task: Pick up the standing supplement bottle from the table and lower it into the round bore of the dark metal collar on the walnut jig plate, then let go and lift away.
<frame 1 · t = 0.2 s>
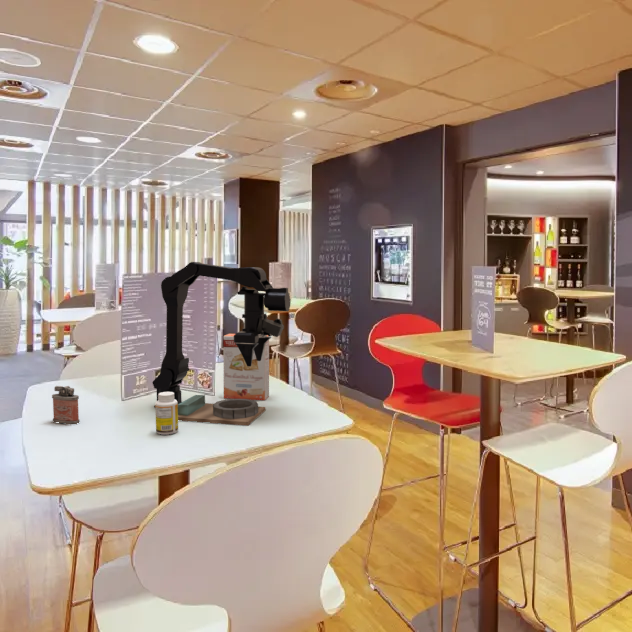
hand: (254, 363, 153), 14 cm above the table, tool pointing down, fingers open, 9 cm apart
supplement bottle: (167, 433, 135), on the table
cracker box: (246, 398, 171), on the table
lighter: (66, 423, 143), on the table
jig: (219, 414, 151), on the table
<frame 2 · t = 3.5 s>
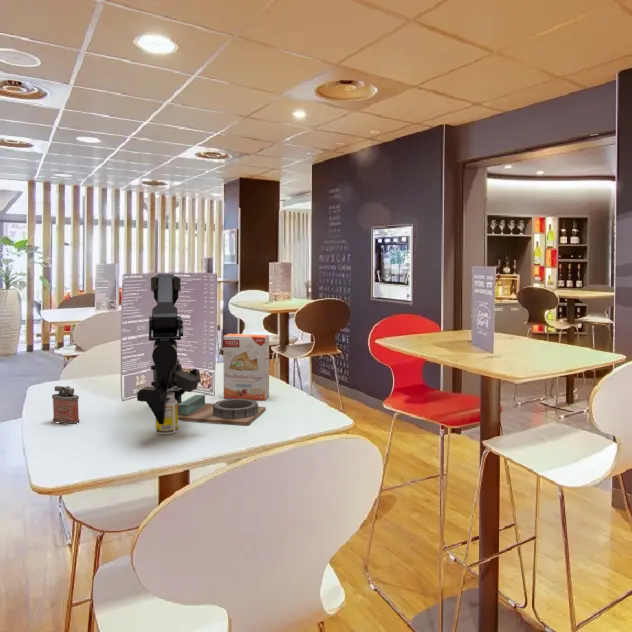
hand: (166, 420, 134), 3 cm above the table, tool pointing down, fingers closed on supplement bottle, 6 cm apart
supplement bottle: (167, 432, 135), on the table, touching gripper
everything else where it was.
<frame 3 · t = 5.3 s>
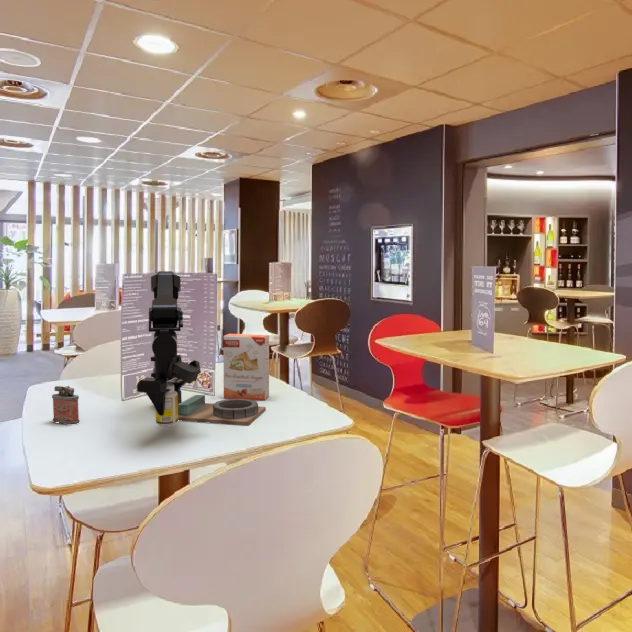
hand: (166, 412, 134), 5 cm above the table, tool pointing down, fingers closed on supplement bottle, 6 cm apart
supplement bottle: (167, 424, 135), point 2 cm above the table, touching gripper
everything else where it was.
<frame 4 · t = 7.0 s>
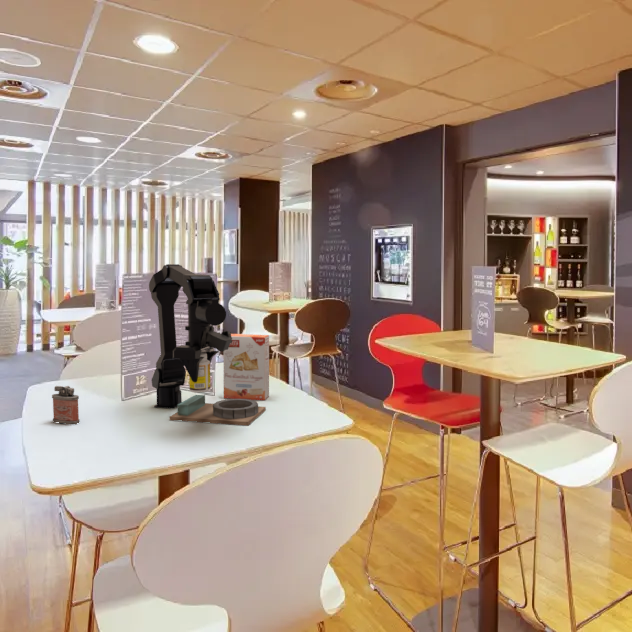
hand: (199, 379, 141), 12 cm above the table, tool pointing down, fingers closed on supplement bottle, 6 cm apart
supplement bottle: (199, 391, 141), point 9 cm above the table, touching gripper
everything else where it was.
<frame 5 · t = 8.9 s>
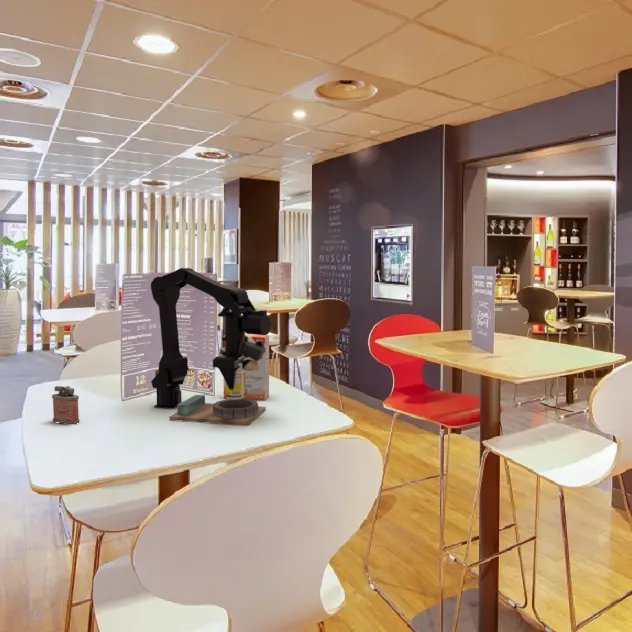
hand: (235, 387, 149), 8 cm above the table, tool pointing down, fingers closed on supplement bottle, 6 cm apart
supplement bottle: (235, 398, 149), point 5 cm above the table, touching gripper
everything else where it was.
when the fingers open (5 cm above the table, at t = 10.5 s): supplement bottle stays where it is, resting on jig.
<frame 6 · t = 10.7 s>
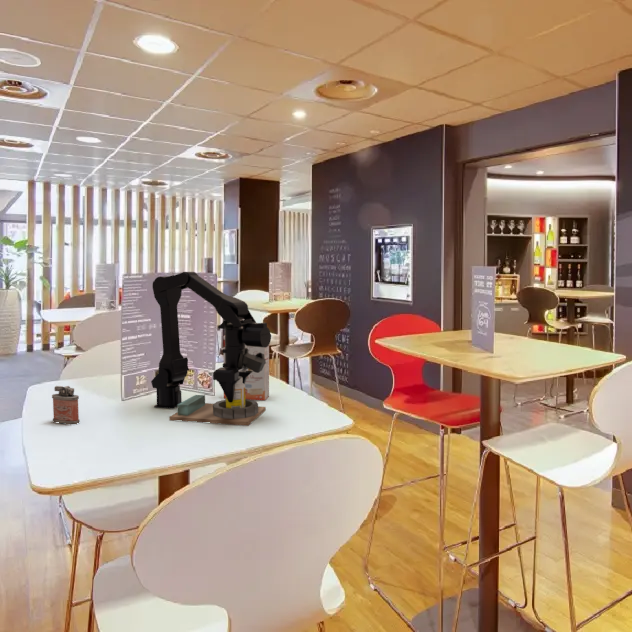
hand: (235, 399, 149), 5 cm above the table, tool pointing down, fingers open, 7 cm apart
supplement bottle: (235, 413, 150), point 1 cm above the table, touching jig
everything else where it was.
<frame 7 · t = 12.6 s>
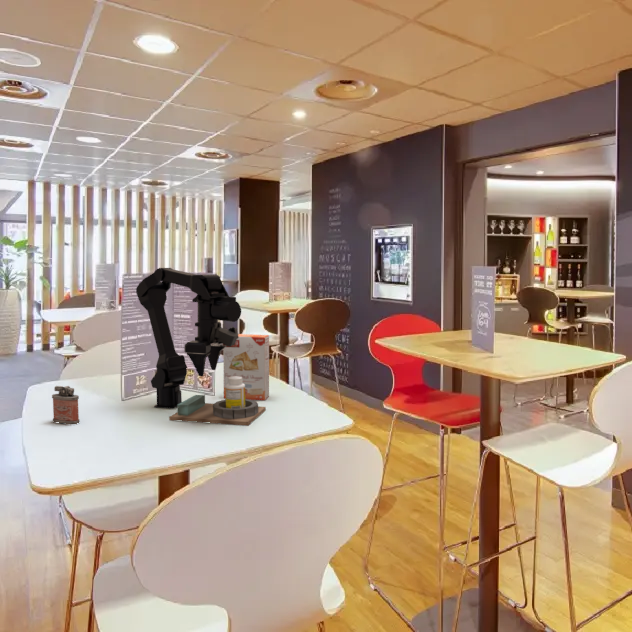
hand: (207, 372, 150), 12 cm above the table, tool pointing down, fingers open, 9 cm apart
nothing on the table moved.
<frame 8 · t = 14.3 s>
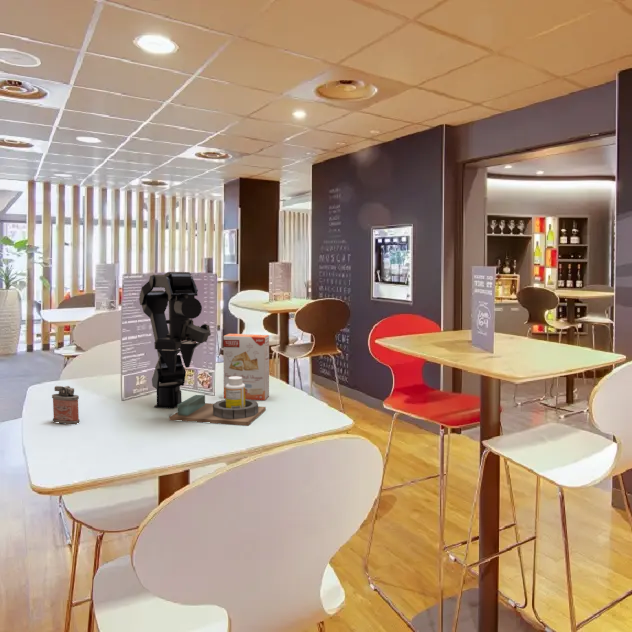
hand: (180, 370, 150), 13 cm above the table, tool pointing down, fingers open, 9 cm apart
nothing on the table moved.
at the end: supplement bottle 0.0 cm from the target spot on the jig, point 0.8 cm above the jig's base; supplement bottle tilted 0°; the gripper is holding nothing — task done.
